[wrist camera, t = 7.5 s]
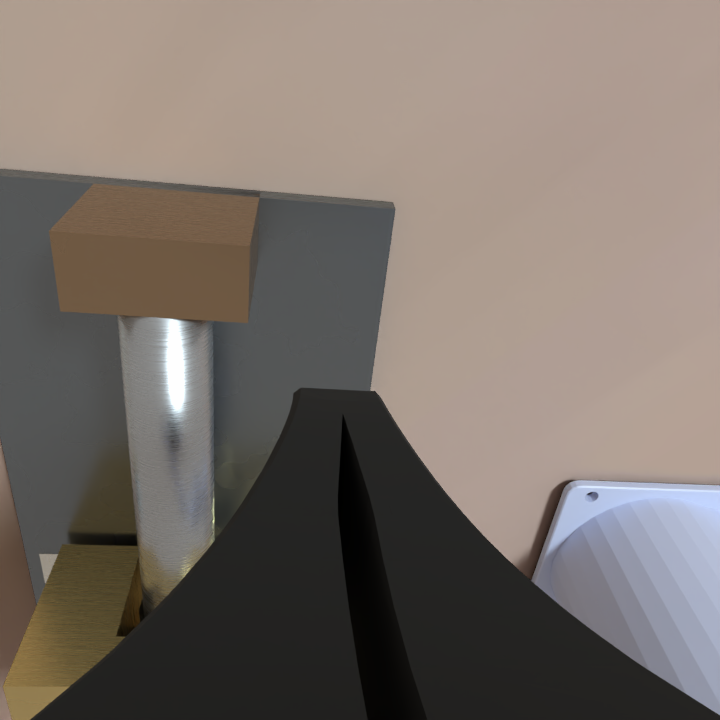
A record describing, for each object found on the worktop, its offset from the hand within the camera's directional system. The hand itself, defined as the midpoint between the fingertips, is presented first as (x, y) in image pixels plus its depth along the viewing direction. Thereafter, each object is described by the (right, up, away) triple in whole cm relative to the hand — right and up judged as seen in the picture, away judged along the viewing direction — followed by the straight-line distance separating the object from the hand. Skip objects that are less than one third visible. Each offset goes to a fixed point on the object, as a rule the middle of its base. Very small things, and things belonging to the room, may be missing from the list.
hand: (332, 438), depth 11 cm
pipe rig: (-6, -3, +13) cm, 15 cm away
